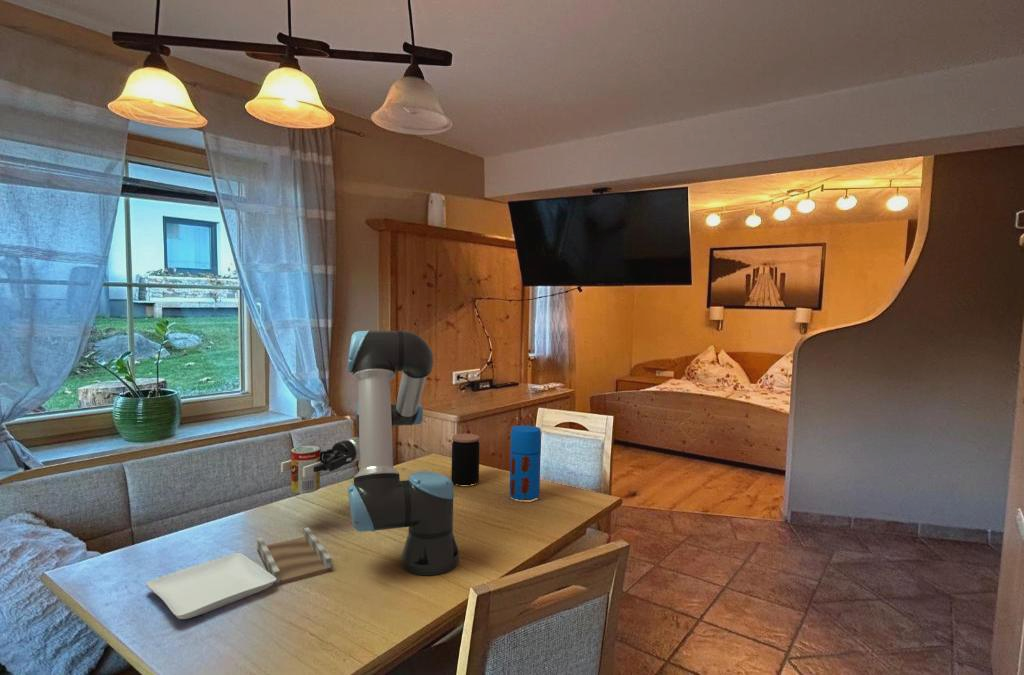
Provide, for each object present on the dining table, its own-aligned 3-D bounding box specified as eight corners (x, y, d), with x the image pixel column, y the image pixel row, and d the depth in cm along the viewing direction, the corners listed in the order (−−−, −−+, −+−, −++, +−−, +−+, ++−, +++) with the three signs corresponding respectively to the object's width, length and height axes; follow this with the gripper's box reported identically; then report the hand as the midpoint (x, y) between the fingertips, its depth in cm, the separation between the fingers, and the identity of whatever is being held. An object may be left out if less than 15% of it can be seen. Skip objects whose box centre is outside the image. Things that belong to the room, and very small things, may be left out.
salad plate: (238, 562, 137) (238, 549, 137) (278, 591, 124) (278, 577, 124) (143, 595, 121) (143, 581, 121) (177, 633, 107) (177, 616, 107)
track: (331, 571, 133) (331, 557, 133) (274, 586, 125) (274, 572, 125) (308, 539, 151) (308, 527, 151) (257, 550, 143) (257, 538, 143)
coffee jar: (480, 479, 208) (481, 434, 207) (476, 488, 197) (477, 440, 196) (454, 477, 209) (455, 433, 208) (448, 486, 198) (449, 439, 197)
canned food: (314, 482, 161) (314, 444, 160) (323, 489, 155) (323, 449, 154) (287, 488, 156) (287, 448, 155) (296, 495, 150) (296, 454, 149)
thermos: (539, 503, 183) (541, 432, 182) (509, 502, 183) (510, 431, 182) (538, 492, 194) (540, 425, 193) (509, 491, 194) (511, 425, 193)
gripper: (373, 467, 167) (319, 488, 147) (324, 458, 176) (266, 477, 155) (373, 444, 167) (319, 462, 146) (324, 436, 175) (266, 452, 155)
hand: (292, 469), depth 151 cm, fingers closed on canned food, 8 cm apart
